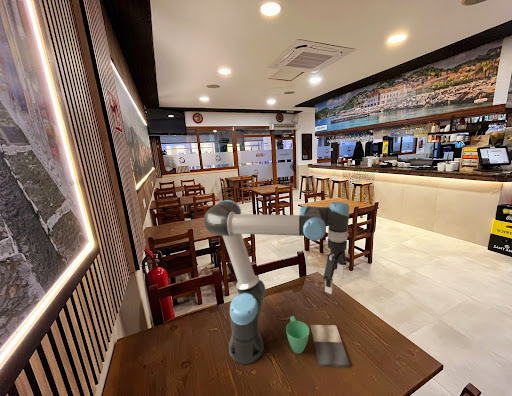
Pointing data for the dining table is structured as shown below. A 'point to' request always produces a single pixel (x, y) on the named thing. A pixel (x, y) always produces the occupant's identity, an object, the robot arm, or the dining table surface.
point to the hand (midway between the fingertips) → (334, 284)
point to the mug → (297, 334)
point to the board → (329, 346)
